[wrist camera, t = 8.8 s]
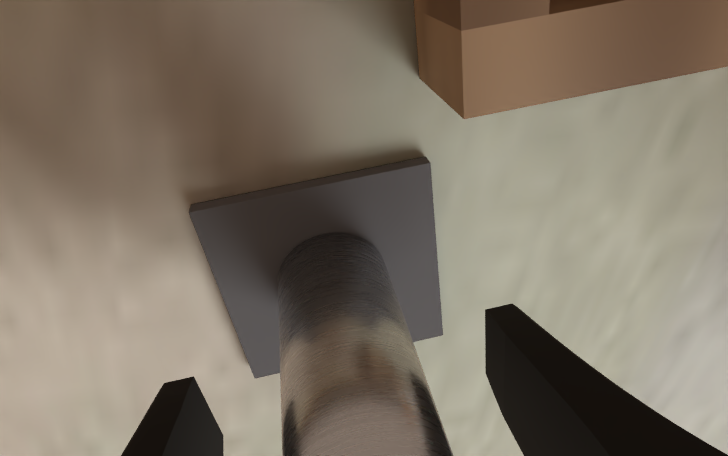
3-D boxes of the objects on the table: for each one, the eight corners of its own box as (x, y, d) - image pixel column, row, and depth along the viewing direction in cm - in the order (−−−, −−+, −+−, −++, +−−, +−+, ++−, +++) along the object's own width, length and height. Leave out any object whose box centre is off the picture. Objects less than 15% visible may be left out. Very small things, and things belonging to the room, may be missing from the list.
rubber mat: (425, 156, 12) (429, 162, 12) (439, 326, 15) (443, 334, 15) (191, 204, 12) (188, 212, 11) (255, 368, 15) (254, 378, 15)
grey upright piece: (388, 194, 12) (605, 662, 4) (384, 337, 15) (512, 787, 7) (268, 203, 12) (267, 744, 4) (285, 350, 14) (306, 845, 6)
